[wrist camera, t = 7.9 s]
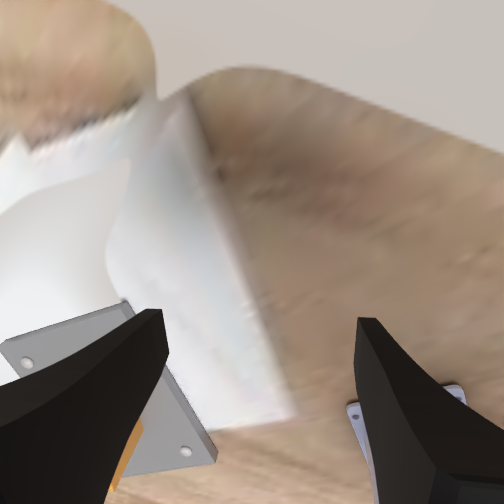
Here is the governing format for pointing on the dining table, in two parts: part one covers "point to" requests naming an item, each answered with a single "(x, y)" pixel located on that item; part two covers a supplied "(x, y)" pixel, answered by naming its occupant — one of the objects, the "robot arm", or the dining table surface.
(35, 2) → the dining table surface
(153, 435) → the plate
